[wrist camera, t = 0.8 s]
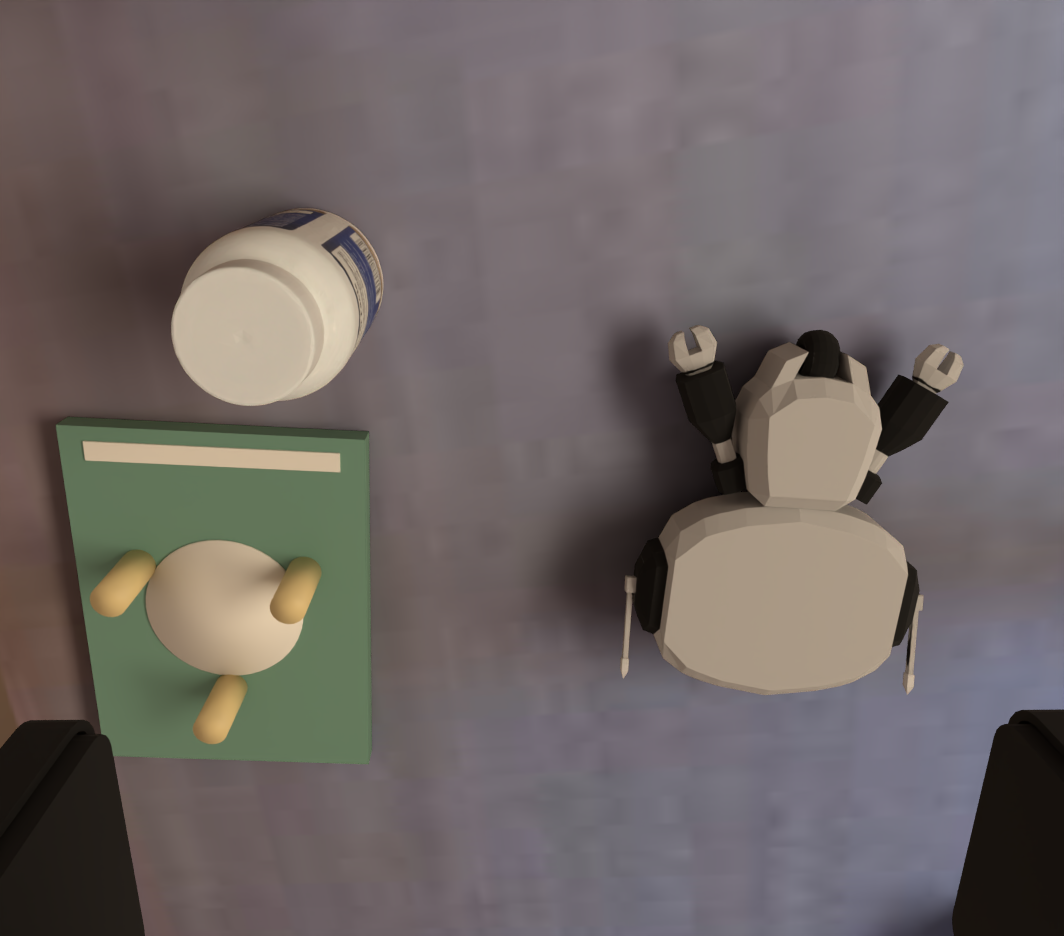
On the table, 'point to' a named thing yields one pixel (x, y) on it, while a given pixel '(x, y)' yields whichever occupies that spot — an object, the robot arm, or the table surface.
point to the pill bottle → (276, 307)
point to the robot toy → (787, 522)
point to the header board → (224, 587)
